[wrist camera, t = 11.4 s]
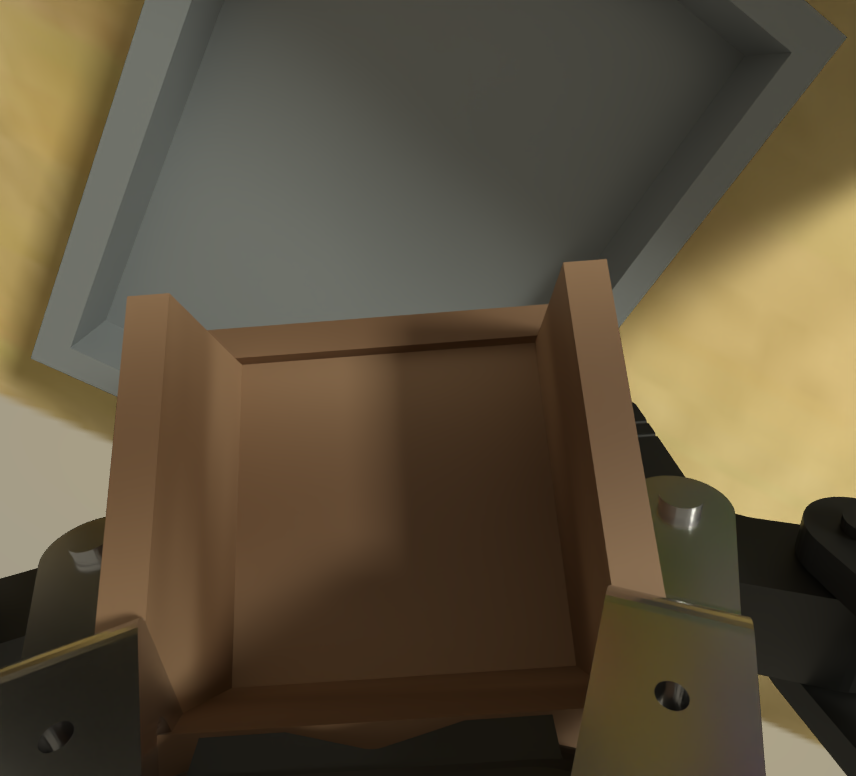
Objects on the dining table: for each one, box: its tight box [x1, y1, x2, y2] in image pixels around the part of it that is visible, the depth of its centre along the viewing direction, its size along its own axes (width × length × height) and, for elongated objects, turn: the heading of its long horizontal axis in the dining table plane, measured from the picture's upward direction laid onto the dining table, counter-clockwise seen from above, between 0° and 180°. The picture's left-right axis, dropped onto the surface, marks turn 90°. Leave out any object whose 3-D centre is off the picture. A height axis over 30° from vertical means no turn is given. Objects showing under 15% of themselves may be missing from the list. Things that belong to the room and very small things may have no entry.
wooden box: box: [95, 259, 666, 776], centre depth 11 cm, size 6×6×10 cm
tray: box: [31, 0, 847, 396], centre depth 19 cm, size 20×16×4 cm
